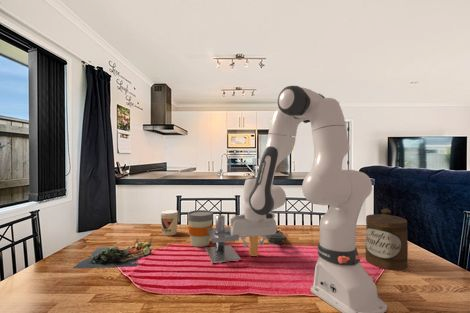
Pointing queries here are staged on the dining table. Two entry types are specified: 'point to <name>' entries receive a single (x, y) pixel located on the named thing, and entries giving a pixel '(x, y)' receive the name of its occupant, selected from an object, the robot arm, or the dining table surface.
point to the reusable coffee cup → (199, 227)
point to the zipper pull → (276, 237)
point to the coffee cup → (169, 222)
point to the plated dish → (116, 256)
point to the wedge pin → (253, 245)
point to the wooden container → (386, 240)
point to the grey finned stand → (221, 242)
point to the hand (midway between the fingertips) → (253, 245)
